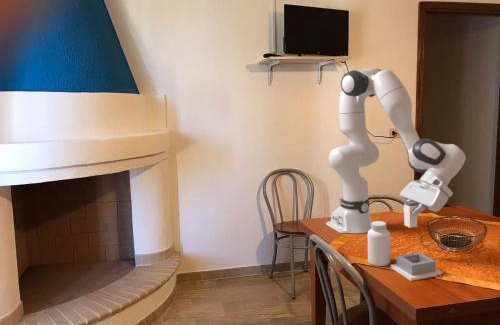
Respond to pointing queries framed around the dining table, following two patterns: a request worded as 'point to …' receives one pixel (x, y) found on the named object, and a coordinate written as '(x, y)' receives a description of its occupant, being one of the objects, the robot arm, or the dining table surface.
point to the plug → (408, 217)
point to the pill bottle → (379, 244)
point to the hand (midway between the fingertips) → (408, 213)
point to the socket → (416, 266)
